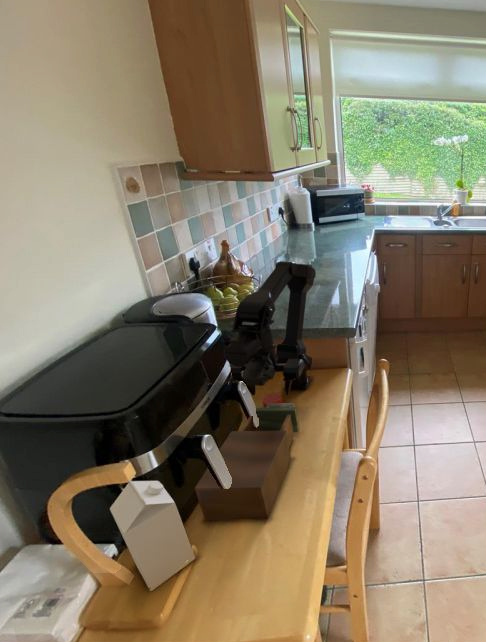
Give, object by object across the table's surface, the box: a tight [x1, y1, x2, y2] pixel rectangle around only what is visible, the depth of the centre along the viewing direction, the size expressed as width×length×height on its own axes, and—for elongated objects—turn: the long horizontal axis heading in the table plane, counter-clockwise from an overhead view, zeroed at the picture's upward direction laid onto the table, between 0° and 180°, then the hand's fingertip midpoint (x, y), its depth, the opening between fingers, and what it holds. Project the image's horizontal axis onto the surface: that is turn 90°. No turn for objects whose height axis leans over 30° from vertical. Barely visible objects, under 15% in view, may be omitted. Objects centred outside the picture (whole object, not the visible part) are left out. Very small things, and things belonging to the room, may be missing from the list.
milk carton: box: [109, 480, 196, 592], centre depth 64 cm, size 7×7×19 cm
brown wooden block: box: [194, 430, 292, 521], centre depth 81 cm, size 16×13×9 cm
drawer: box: [240, 402, 301, 447], centre depth 92 cm, size 19×11×7 cm, turn 3°
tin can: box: [261, 392, 283, 408], centre depth 104 cm, size 5×5×6 cm
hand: (271, 394), depth 103 cm, fingers open, 9 cm apart
